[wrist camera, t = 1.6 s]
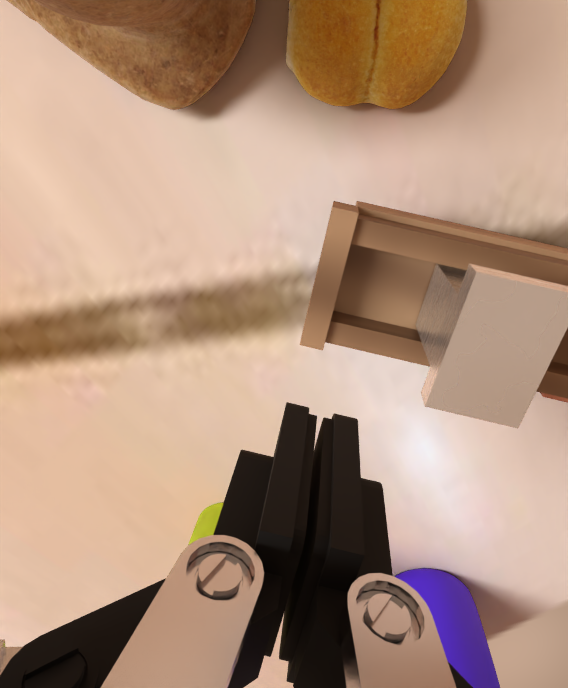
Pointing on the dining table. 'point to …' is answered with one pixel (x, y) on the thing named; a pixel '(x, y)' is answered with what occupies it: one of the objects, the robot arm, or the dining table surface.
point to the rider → (488, 340)
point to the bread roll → (372, 48)
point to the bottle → (456, 624)
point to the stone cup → (150, 41)
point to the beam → (411, 280)
